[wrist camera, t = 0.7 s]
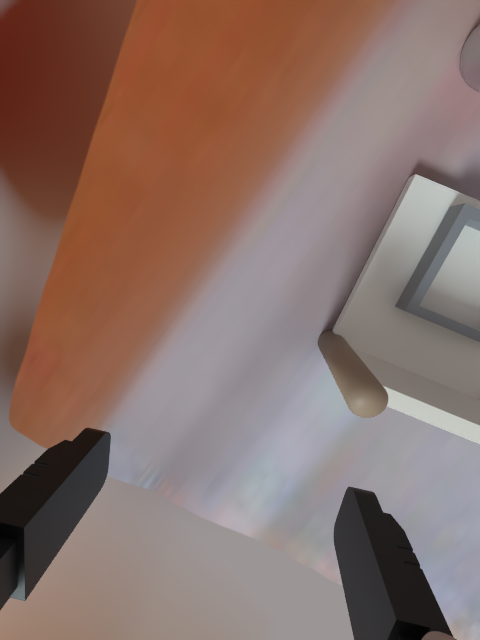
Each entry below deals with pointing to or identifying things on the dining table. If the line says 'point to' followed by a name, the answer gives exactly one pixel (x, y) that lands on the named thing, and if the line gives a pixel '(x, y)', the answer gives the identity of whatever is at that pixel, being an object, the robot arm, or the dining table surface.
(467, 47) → the beer glass
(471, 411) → the post stand
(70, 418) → the dining table surface
